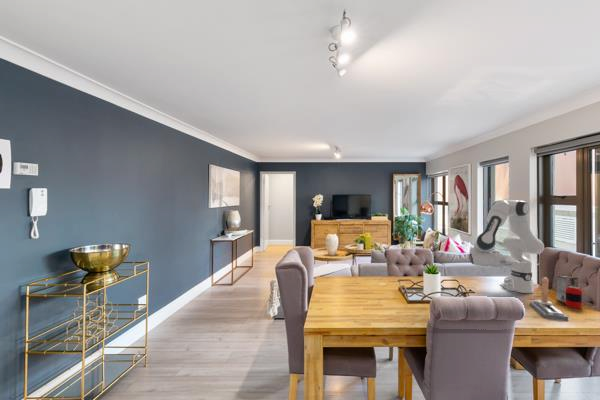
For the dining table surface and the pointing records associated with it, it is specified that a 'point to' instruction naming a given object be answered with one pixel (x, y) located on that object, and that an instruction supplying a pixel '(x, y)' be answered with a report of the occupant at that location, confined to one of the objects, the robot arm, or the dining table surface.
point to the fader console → (548, 311)
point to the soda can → (573, 297)
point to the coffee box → (565, 286)
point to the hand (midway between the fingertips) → (524, 262)
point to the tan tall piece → (544, 293)
